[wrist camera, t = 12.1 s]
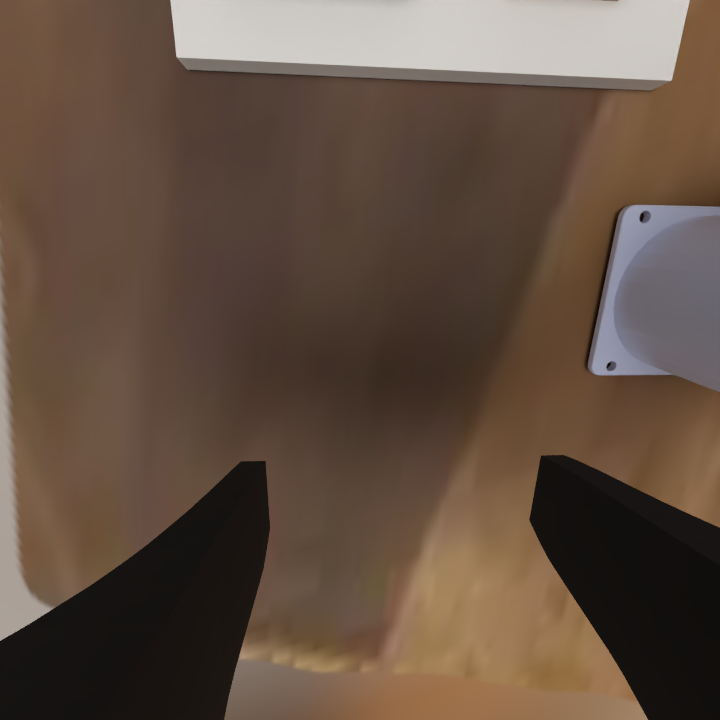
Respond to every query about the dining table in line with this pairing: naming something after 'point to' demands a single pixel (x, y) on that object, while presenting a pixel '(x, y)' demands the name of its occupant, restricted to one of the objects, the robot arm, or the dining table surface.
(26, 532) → the dining table surface
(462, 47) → the socket board
